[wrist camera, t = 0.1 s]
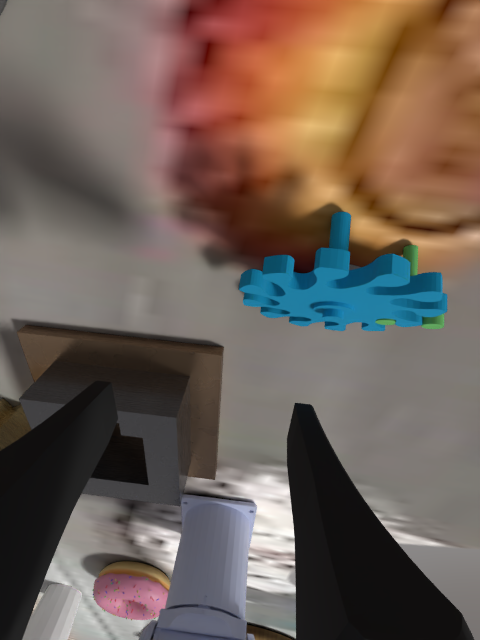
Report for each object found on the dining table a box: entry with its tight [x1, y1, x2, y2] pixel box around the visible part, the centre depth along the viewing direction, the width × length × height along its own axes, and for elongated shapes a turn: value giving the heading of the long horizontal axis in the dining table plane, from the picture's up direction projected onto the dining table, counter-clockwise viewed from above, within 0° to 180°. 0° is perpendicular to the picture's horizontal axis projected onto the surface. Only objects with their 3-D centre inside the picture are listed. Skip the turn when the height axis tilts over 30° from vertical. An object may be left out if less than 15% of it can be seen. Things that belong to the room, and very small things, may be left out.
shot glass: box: [22, 584, 82, 640], centre depth 48 cm, size 7×7×7 cm
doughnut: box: [93, 561, 170, 620], centre depth 44 cm, size 11×11×4 cm
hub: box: [17, 325, 224, 506], centre depth 25 cm, size 15×15×5 cm
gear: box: [239, 212, 447, 331], centre depth 17 cm, size 11×6×10 cm
